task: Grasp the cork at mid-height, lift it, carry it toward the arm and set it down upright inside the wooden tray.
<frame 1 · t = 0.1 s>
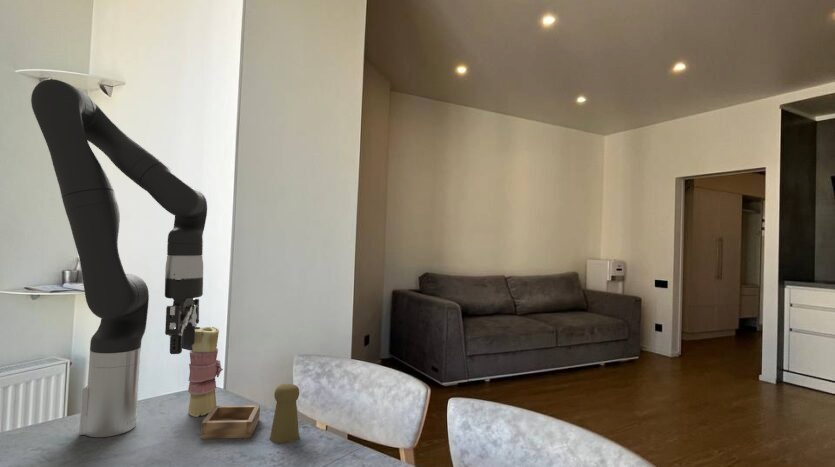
hand: (182, 349, 99), 17 cm above the table, tool pointing down, fingers open, 8 cm apart
wooden tray: (231, 428, 99), on the table
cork: (284, 437, 96), on the table
scroll: (203, 412, 109), on the table
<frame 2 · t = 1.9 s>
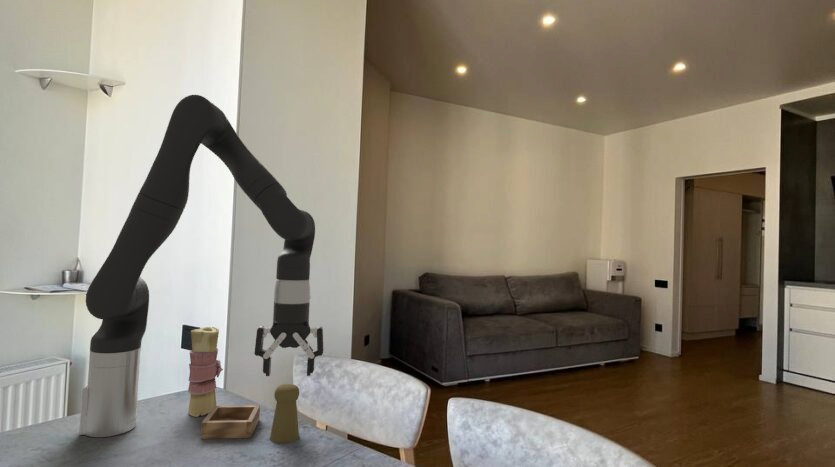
hand: (288, 375, 97), 13 cm above the table, tool pointing down, fingers open, 8 cm apart
nothing on the table moved.
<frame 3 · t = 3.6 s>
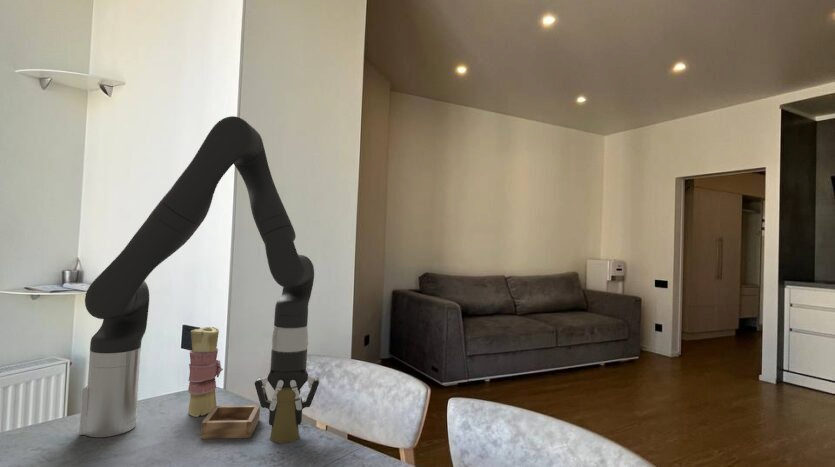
hand: (285, 426, 97), 2 cm above the table, tool pointing down, fingers closed on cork, 4 cm apart
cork: (284, 437, 96), on the table, touching gripper
everything else where it was.
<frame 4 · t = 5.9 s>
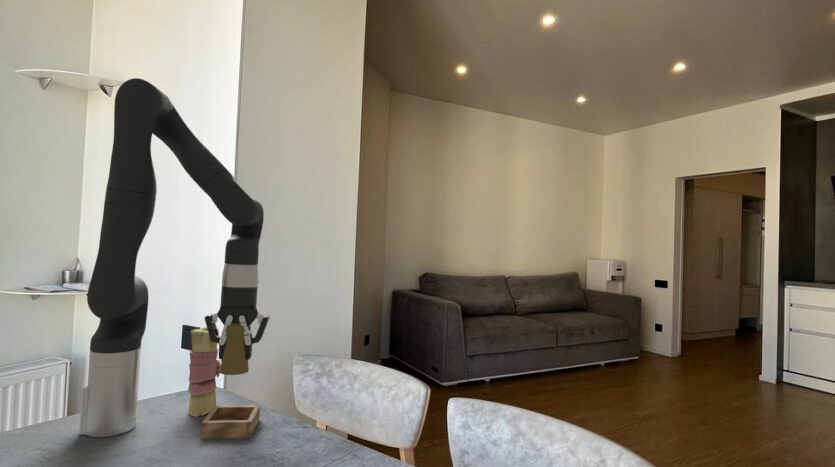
hand: (235, 360, 100), 15 cm above the table, tool pointing down, fingers closed on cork, 4 cm apart
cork: (234, 372, 100), point 12 cm above the table, touching gripper
everything else where it was.
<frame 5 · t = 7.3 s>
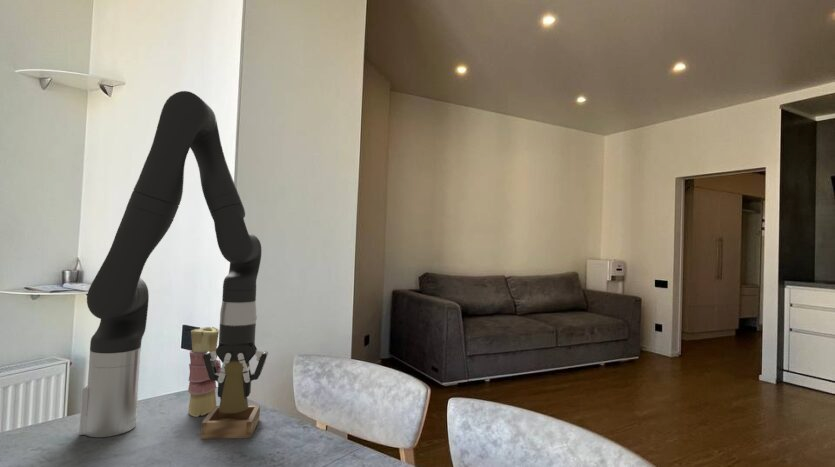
hand: (234, 398, 100), 7 cm above the table, tool pointing down, fingers closed on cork, 4 cm apart
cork: (233, 409, 100), point 4 cm above the table, touching gripper
everything else where it was.
when the fingers open (4 cm above the table, at t = 8.2 s): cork drops 1 cm, resting on wooden tray.
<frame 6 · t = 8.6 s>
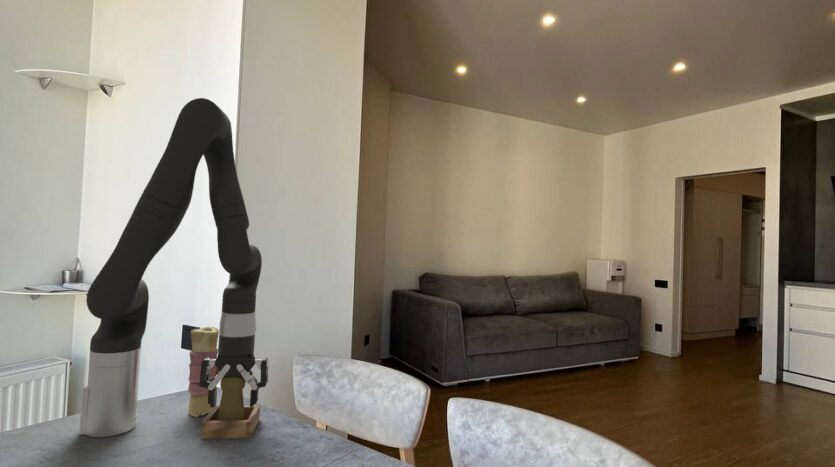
hand: (233, 405, 100), 5 cm above the table, tool pointing down, fingers open, 8 cm apart
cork: (230, 425, 99), point 1 cm above the table, touching wooden tray
everything else where it was.
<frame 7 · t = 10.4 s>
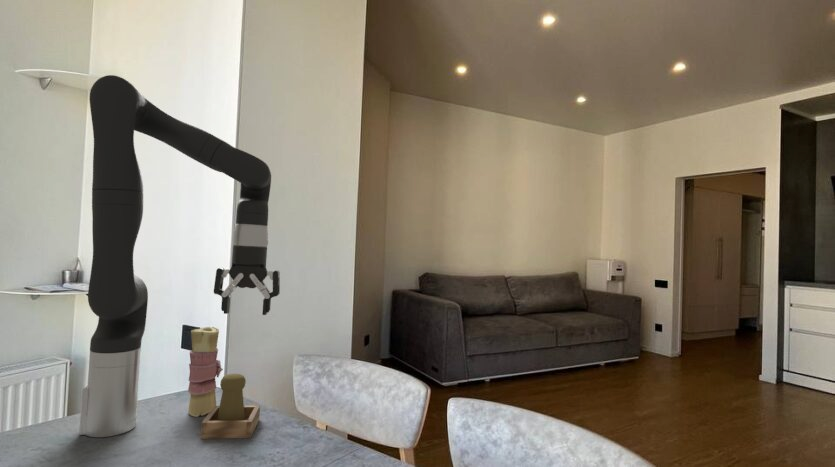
hand: (245, 313, 104), 25 cm above the table, tool pointing down, fingers open, 8 cm apart
nothing on the table moved.
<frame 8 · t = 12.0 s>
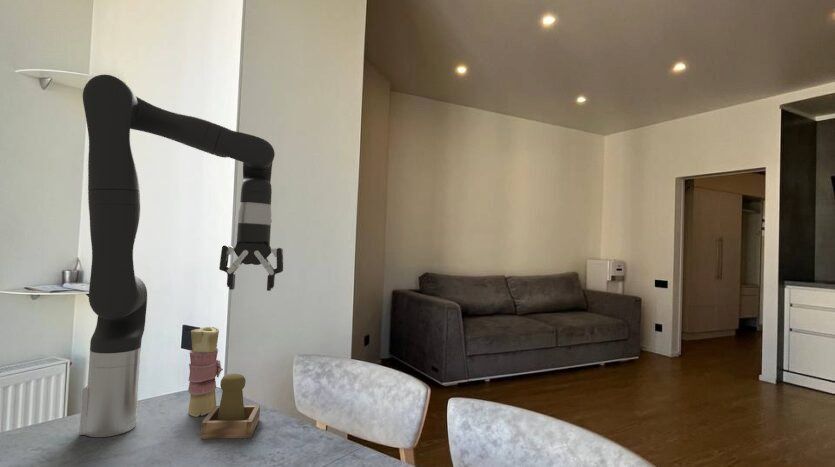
hand: (250, 289, 108), 30 cm above the table, tool pointing down, fingers open, 8 cm apart
nothing on the table moved.
at the end: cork 0.3 cm off-centre on the wooden tray, point 0.6 cm above the wooden tray's base; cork tilted 0°; the gripper is holding nothing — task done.
